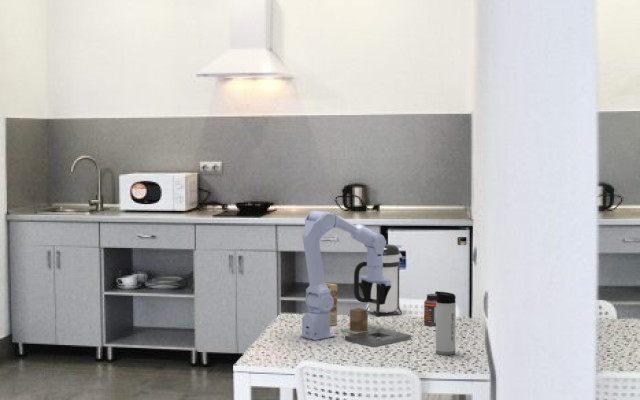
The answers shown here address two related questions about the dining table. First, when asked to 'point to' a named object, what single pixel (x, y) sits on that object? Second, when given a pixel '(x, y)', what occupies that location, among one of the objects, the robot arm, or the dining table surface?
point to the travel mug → (445, 323)
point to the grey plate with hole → (369, 339)
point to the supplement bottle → (430, 310)
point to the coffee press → (390, 273)
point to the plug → (358, 320)
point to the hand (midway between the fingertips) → (374, 302)
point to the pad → (353, 331)
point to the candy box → (334, 309)
